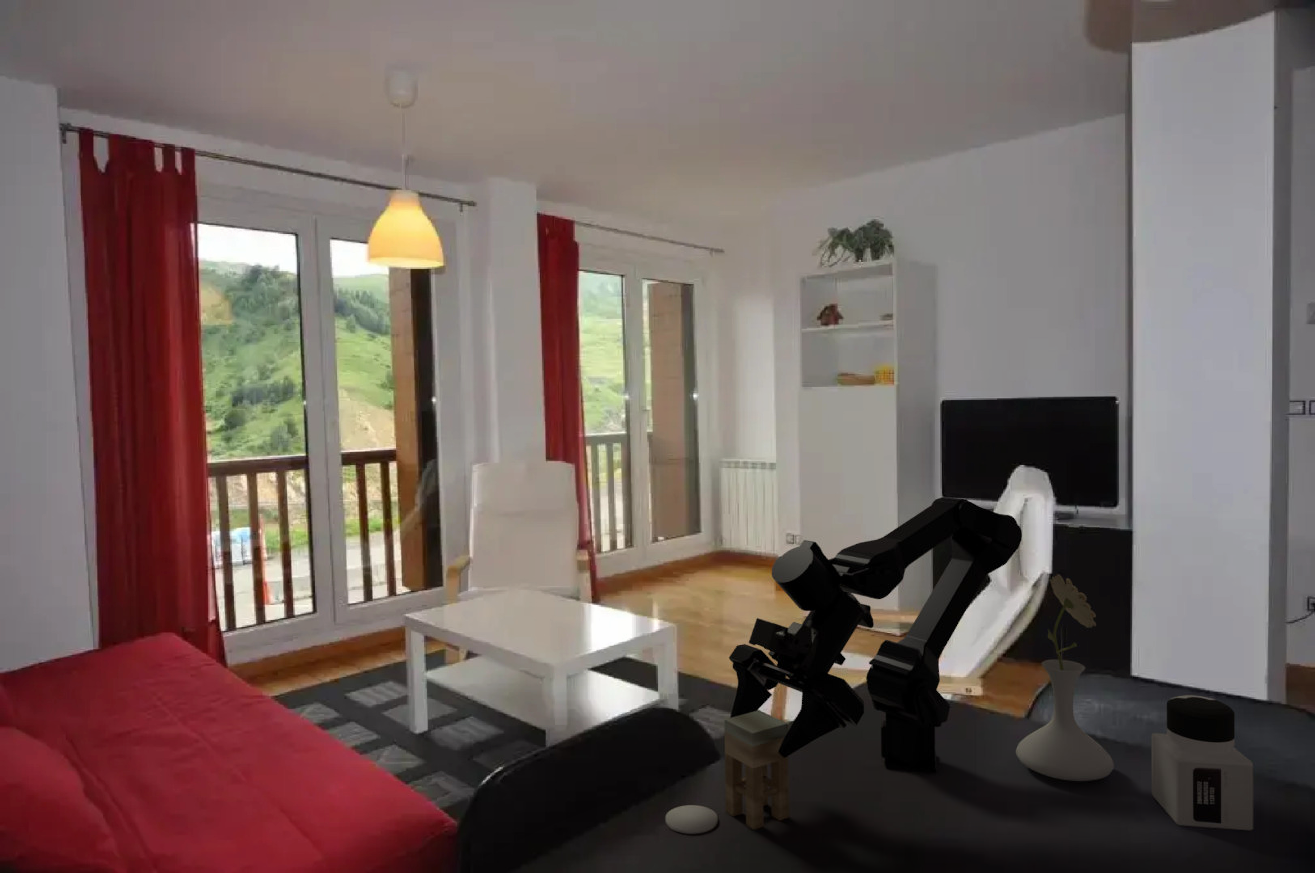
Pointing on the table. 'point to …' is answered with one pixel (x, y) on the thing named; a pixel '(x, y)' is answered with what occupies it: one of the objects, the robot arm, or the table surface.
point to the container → (1202, 766)
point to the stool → (756, 766)
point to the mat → (691, 819)
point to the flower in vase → (1065, 710)
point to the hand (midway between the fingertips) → (755, 741)
